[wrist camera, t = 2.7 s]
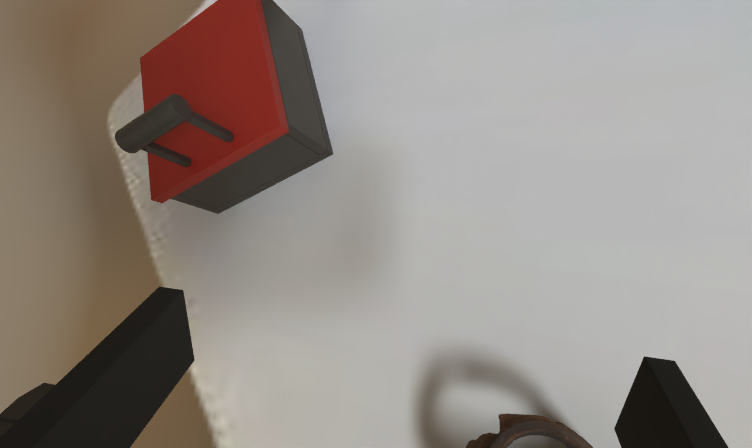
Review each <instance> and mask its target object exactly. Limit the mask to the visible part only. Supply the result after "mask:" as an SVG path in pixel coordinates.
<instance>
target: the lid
mask: <svg viewBox="0 0 752 448" xmlns="http://www.w3.org/2000/svg"><path fill="white" fill-rule="evenodd" d="M140 63H141V76H142V88H143V101H144V113H143V114H142V115H140V116H139V117H137V118H136V119H134V120H133V121H131V122H130V123H128V124H127V125H126V126H124V127H123V128H121V129H120V130H118V131H117V132H116V134H115V139H116V142H117V144H118V145H119V146H120V147H121V148H122V149H123V150H124V151H126V152H128V153H136V152H138V151H139V150H144V151H146V152H148V165H149V178H150V191H151V200H153V201H156V202H160V203H163V202H165V201H167V200H169V199H171V198H172V197H174V196H176V195H178V194H179V193H181V192H183V191H185V190H187V189H188V188H190V187H192V186H194V185H195V184H197V183H199V182H201V181H203V180H204V179H206V178H208V177H210V176H211V175H213V174H215V173H217V172H218V171H220V170H222V169H224V168H226V167H227V166H229V165H231V164H233V163H234V162H236V161H238V160H240V159H242V158H243V157H245V156H247V155H249V154H250V153H252V152H254V151H256V150H258V149H259V148H261V147H263V146H265V145H266V144H268V143H270V142H272V141H274V140H275V139H277V138H279V137H281V136H282V135H284V134H286V133H288V132H289V129H288V124H287V119H286V115H285V110H284V105H283V101H282V96H281V91H280V87H279V82H278V77H277V73H276V68H275V63H274V59H273V54H272V50H271V45H270V40H269V36H268V31H267V26H266V22H265V17H264V12H263V8H262V3H261V0H218V1H216V2H215V3H214V4H212V5H211V6H209V7H208V8H207V9H205V10H204V11H203V12H201V13H200V14H199V15H197V16H196V17H195V18H193V19H192V20H191V21H189V22H188V23H187V24H185V25H184V26H183V27H181V28H180V29H179V30H177V31H176V32H175V33H173V34H172V35H171V36H169V37H168V38H167V39H165V40H164V41H162V42H161V43H160V44H158V45H157V46H156V47H154V48H153V49H152V50H150V51H149V52H148V53H146V54H145V55H144V56H142V57H141V58H140Z"/></svg>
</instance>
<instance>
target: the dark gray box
mask: <svg viewBox="0 0 752 448" xmlns="http://www.w3.org/2000/svg"><path fill="white" fill-rule="evenodd" d="M261 3H262V8H263V12H264V17H265V22H266V26H267V31H268V36H269V40H270V45H271V50H272V54H273V59H274V63H275V68H276V73H277V77H278V82H279V87H280V91H281V96H282V101H283V105H284V110H285V115H286V119H287V124H288V129H289V132H288V133H286V134H284V135H282V136H281V137H279V138H277V139H275V140H274V141H272V142H270V143H268V144H266V145H265V146H263V147H261V148H259V149H258V150H256V151H254V152H252V153H250V154H249V155H247V156H245V157H243V158H242V159H240V160H238V161H236V162H234V163H233V164H231V165H229V166H227V167H226V168H224V169H222V170H220V171H218V172H217V173H215V174H213V175H211V176H210V177H208V178H206V179H204V180H203V181H201V182H199V183H197V184H195V185H194V186H192V187H190V188H188V189H187V190H185V191H183V192H181V193H179V194H178V195H176V196H174V197H172V198H171V199H173V200H176V201H180V202H183V203H186V204H189V205H192V206H195V207H198V208H202V209H205V210H208V211H211V212H214V213H217V214H219V213H221V212H222V211H224V210H226V209H228V208H230V207H232V206H234V205H236V204H238V203H240V202H242V201H244V200H246V199H248V198H249V197H251V196H253V195H255V194H257V193H259V192H261V191H263V190H265V189H267V188H269V187H271V186H273V185H275V184H276V183H278V182H280V181H282V180H284V179H286V178H288V177H290V176H292V175H294V174H296V173H298V172H300V171H301V170H303V169H305V168H307V167H309V166H311V165H313V164H315V163H317V162H319V161H321V160H323V159H325V158H327V157H328V156H330V155H332V154H333V152H332V148H331V144H330V140H329V136H328V132H327V128H326V124H325V120H324V116H323V112H322V108H321V104H320V100H319V96H318V92H317V88H316V84H315V80H314V76H313V72H312V68H311V64H310V60H309V56H308V52H307V48H306V44H305V40H304V36H303V32H302V29H301V28H300V27H299V26H298V25H297V24H296V23H295V22H294V21H293V20H292V19H291V18H290V17H289V16H288V15H287V14H286V13H285V12H284V11H283V10H282V9H281V8H280V7H279V6H278V5H277V4H276V3H275V2H274V1H273V0H261Z"/></svg>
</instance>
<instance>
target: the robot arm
mask: <svg viewBox="0 0 752 448" xmlns="http://www.w3.org/2000/svg"><path fill="white" fill-rule="evenodd" d="M193 361H194V355H193V348H192V342H191V336H190V330H189V323H188V317H187V311H186V305H185V299H184V292H183V290H178V289H171V288H164V287H159V288H158V289H157V290H156V291H155V292H153V293H152V294H151V295H150V296H149V297H148V298H147V299H146V300H145V301H144V302H143V303H142V304H141V305H140V306H139V307H138V308H136V309H135V310H134V311H133V312H132V313H131V314H130V315H129V316H128V317H127V318H126V319H125V320H124V321H123V322H122V323H121V324H120V325H119V326H117V327H116V328H115V329H114V330H113V331H112V332H111V333H110V334H109V335H108V336H107V337H106V338H105V339H104V340H103V341H102V342H101V343H100V344H99V345H97V346H96V347H95V348H94V349H93V350H92V351H91V352H90V353H89V354H88V355H87V356H86V357H85V358H84V359H83V360H82V361H80V362H79V363H78V364H77V365H76V366H75V367H74V368H73V369H72V370H71V371H70V372H69V373H68V374H67V375H66V376H65V377H64V378H63V379H62V380H60V381H59V382H58V383H57V384H56V385H52V384H47V383H43V384H41V385H40V386H38V387H36V388H34V389H33V390H31V391H29V392H27V393H26V394H24V395H22V396H21V397H19V398H18V399H16V400H15V401H14V402H13V403H12V404H11V405H10V406H9V407H8V408H6V409H5V410H4V411H3V412H2V413H1V414H0V448H130V447H131V445H132V444H133V443H134V441H135V440H136V439H137V437H138V436H139V435H140V433H141V432H142V430H143V429H144V428H145V426H146V425H147V424H148V422H149V421H150V420H151V418H152V417H153V415H154V414H155V413H156V411H157V410H158V409H159V407H160V406H161V405H162V403H163V402H164V401H165V399H166V398H167V396H168V395H169V393H171V391H172V390H173V388H174V387H175V385H176V384H177V383H178V382H179V380H180V379H181V378H182V376H183V375H184V373H185V372H186V371H187V370H188V368H189V367H190V365H191V364H192V363H193ZM614 429H615V432H616V434H617V437H618V440H619V442H620V445H621V447H622V448H728V446H727V445H726V443H725V441H724V440H723V438H722V437H721V435H720V433H719V432H718V430H717V428H716V427H715V425H714V424H713V422H712V420H711V419H710V417H709V416H708V414H707V412H706V411H705V409H704V408H703V406H702V404H701V403H700V401H699V399H698V398H697V396H696V395H695V393H694V391H693V390H692V388H691V387H690V385H689V383H688V382H687V380H686V378H685V377H684V375H683V374H682V372H681V370H680V369H679V367H678V366H677V364H676V362H675V361H671V360H664V359H657V358H650V357H644V358H643V361H642V363H641V365H640V368H639V370H638V373H637V375H636V378H635V380H634V382H633V385H632V387H631V390H630V392H629V394H628V397H627V399H626V402H625V404H624V407H623V409H622V411H621V414H620V416H619V419H618V421H617V423H616V426H615V428H614Z"/></svg>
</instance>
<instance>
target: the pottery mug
mask: <svg viewBox="0 0 752 448" xmlns="http://www.w3.org/2000/svg"><path fill="white" fill-rule="evenodd" d="M499 419H500V432H499V433H498V434H493V433H488V434H483V435H481V436H480V437H479V438H478V439H476V440H471V441H469V442H468V444H467V446H466V448H507V447H508V446H509V445H510V444H511V443H512V442H513V441H514V440H516V439H518V438H521V437H524V436H528V435H541V436H547V437H550V438H553V439H556V440H558V441H560V442H561V443H563V444H564V445H566V446H567V447H569V448H593V447H592V446H591V445H590V444H589V443H588V442H587V441H586V440H585V439H584V438H582V437H581V436H579V435H578V434H577V433H575V432H574V431H573V430H571V429H570V428H568V427H567V426H565V425H563V424H562V423H559V422H556V423H555V422H553V421H551V420H550V419H549V418H547V417H544V416H538V415H518V414H500V415H499Z"/></svg>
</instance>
